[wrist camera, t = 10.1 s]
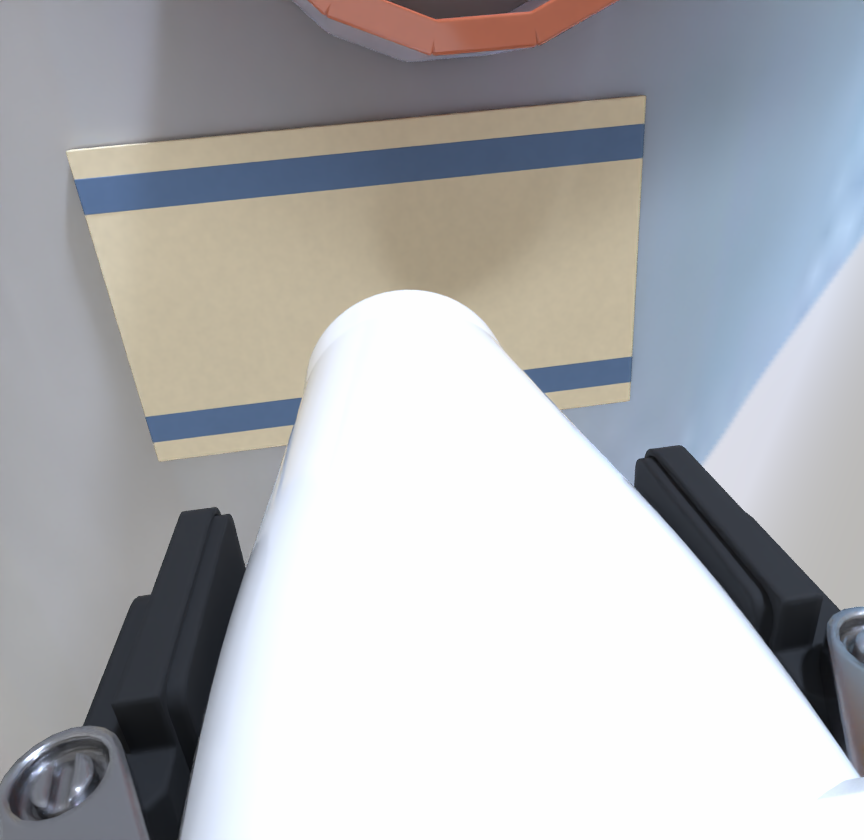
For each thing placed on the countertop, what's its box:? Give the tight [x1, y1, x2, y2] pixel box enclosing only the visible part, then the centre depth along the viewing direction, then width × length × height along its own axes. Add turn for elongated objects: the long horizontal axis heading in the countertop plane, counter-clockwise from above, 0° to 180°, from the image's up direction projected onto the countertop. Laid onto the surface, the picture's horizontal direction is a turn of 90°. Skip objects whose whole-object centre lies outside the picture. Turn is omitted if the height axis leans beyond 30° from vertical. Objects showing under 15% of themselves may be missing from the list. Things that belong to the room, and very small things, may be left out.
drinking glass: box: [178, 290, 861, 840], centre depth 12 cm, size 7×7×15 cm
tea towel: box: [66, 95, 646, 462], centre depth 27 cm, size 20×12×1 cm, turn 95°
